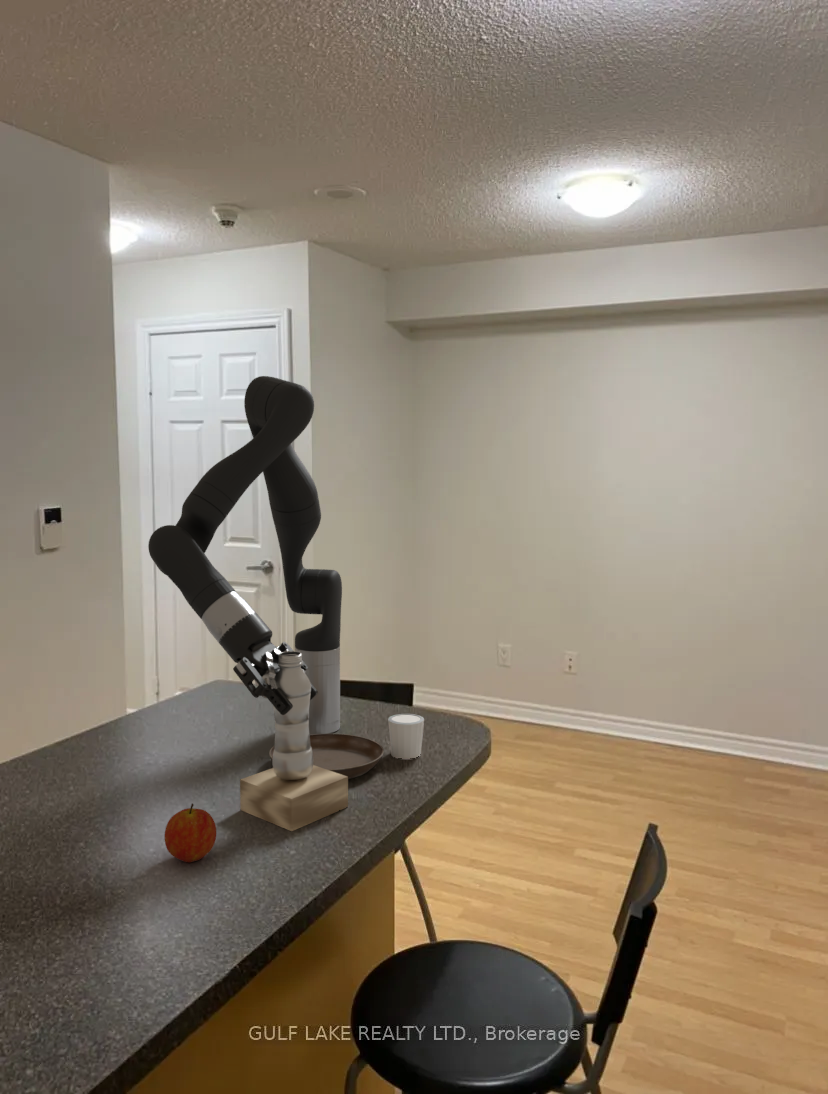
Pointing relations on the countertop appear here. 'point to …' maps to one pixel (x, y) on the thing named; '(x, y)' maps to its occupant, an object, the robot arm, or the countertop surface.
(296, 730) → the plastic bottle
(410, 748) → the white cup
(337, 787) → the block
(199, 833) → the fruit
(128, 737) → the countertop surface
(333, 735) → the plant saucer
